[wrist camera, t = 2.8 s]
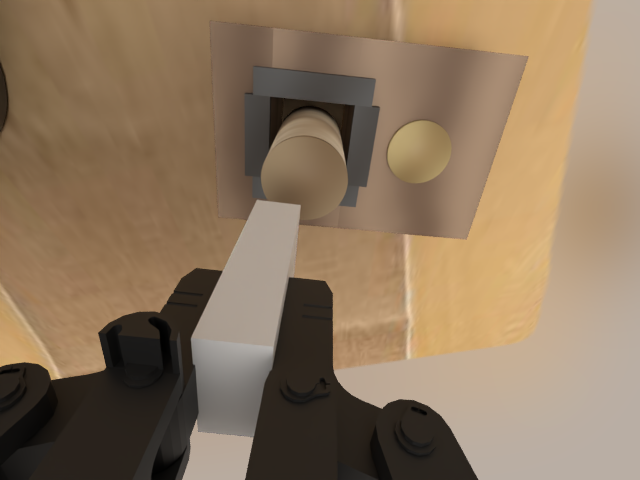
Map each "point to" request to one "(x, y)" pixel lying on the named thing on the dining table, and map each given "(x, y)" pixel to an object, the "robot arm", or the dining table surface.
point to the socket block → (365, 122)
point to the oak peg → (306, 163)
